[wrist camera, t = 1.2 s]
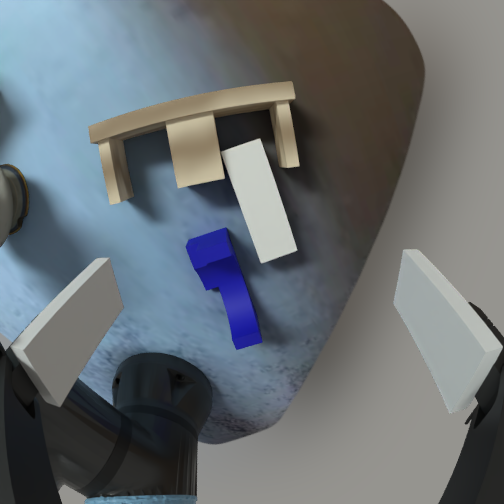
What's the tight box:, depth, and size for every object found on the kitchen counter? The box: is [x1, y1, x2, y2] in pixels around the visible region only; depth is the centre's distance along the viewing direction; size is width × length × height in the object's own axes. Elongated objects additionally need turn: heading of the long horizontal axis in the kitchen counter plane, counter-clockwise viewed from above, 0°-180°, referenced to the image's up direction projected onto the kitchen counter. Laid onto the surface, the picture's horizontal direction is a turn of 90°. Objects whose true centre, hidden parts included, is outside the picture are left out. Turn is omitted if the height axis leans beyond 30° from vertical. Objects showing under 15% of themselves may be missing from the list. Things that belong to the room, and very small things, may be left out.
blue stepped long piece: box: [186, 228, 262, 350], centre depth 32 cm, size 12×4×6 cm, turn 17°
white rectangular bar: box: [221, 139, 297, 263], centre depth 31 cm, size 12×4×4 cm, turn 19°
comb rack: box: [88, 81, 299, 205], centre depth 27 cm, size 8×20×5 cm, turn 100°
